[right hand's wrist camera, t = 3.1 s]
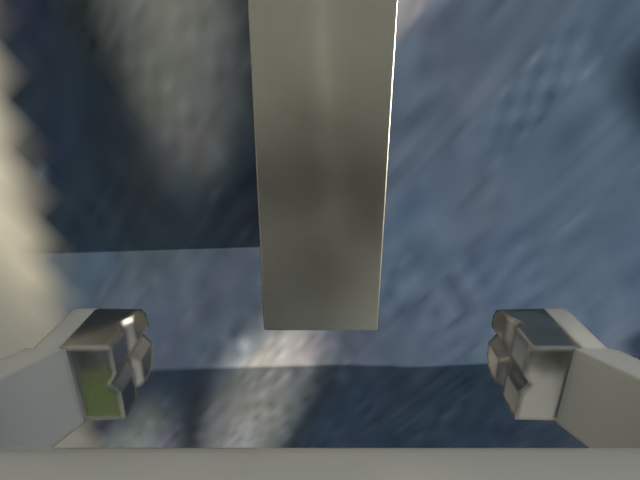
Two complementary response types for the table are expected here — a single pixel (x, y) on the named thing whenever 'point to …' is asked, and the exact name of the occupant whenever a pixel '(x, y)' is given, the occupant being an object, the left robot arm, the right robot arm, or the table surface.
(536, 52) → the table surface
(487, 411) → the table surface
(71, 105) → the table surface
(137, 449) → the right robot arm
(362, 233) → the bar
